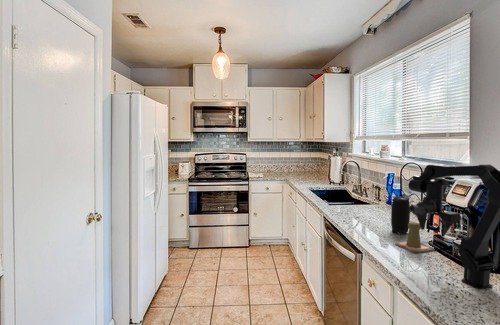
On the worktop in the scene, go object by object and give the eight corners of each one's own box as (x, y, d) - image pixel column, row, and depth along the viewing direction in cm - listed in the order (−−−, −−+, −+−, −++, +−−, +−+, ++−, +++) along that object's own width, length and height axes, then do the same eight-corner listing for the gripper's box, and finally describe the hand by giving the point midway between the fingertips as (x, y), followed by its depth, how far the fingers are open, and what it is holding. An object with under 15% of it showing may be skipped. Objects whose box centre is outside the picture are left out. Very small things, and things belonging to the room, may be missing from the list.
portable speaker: (411, 232, 160) (413, 197, 159) (403, 236, 155) (404, 199, 153) (396, 228, 167) (397, 195, 166) (387, 231, 162) (389, 197, 160)
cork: (411, 242, 142) (412, 220, 141) (423, 246, 137) (424, 223, 136) (403, 244, 139) (404, 221, 139) (415, 248, 134) (416, 225, 133)
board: (448, 248, 137) (449, 246, 137) (415, 253, 131) (416, 251, 131) (426, 240, 149) (426, 237, 149) (395, 244, 142) (395, 242, 142)
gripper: (400, 192, 125) (398, 228, 126) (440, 201, 107) (438, 242, 108) (420, 190, 128) (418, 225, 129) (462, 199, 111) (460, 239, 112)
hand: (432, 232), depth 120 cm, fingers open, 9 cm apart
